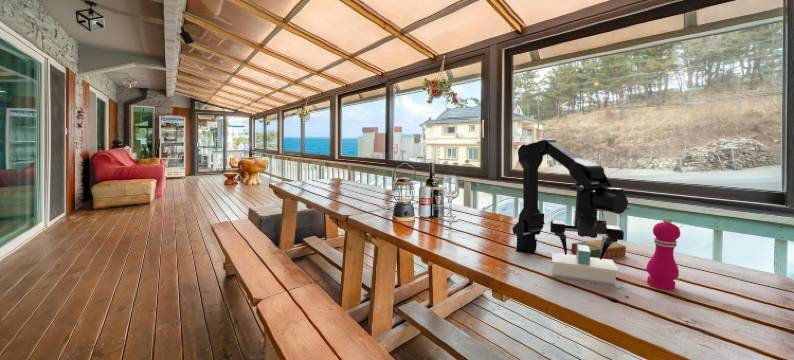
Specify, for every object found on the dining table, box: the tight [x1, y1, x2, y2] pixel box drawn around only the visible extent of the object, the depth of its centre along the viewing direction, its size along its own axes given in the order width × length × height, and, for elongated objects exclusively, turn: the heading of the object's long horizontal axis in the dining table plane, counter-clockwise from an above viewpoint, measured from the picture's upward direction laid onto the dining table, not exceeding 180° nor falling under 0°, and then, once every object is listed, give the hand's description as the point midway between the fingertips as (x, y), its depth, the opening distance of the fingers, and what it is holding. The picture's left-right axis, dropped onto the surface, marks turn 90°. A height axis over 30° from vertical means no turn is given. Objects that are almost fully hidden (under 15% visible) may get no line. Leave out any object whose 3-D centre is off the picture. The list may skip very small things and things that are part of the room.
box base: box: [552, 264, 617, 287], centre depth 100 cm, size 16×8×4 cm, turn 66°
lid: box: [551, 245, 619, 274], centre depth 99 cm, size 17×9×5 cm, turn 66°
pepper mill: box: [645, 216, 681, 291], centre depth 92 cm, size 7×7×20 cm
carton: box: [570, 239, 627, 259], centre depth 118 cm, size 8×16×4 cm, turn 105°
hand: (582, 256), depth 99 cm, fingers open, 9 cm apart
